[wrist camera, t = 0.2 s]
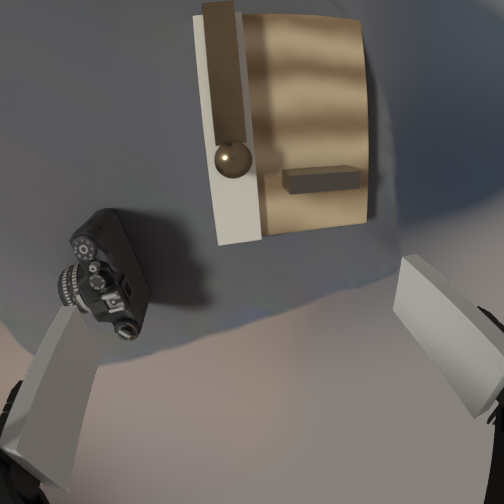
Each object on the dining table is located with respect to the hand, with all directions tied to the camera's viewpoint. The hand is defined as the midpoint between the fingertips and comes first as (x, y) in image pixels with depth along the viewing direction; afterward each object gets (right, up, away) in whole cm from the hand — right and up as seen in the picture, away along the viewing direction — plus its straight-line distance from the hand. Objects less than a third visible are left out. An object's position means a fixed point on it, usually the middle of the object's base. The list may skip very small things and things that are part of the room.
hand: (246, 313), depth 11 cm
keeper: (+7, +11, +23) cm, 27 cm away
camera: (-20, +1, +27) cm, 34 cm away
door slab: (+7, +18, +23) cm, 30 cm away
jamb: (-3, +17, +22) cm, 28 cm away
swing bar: (-3, +19, +16) cm, 25 cm away
